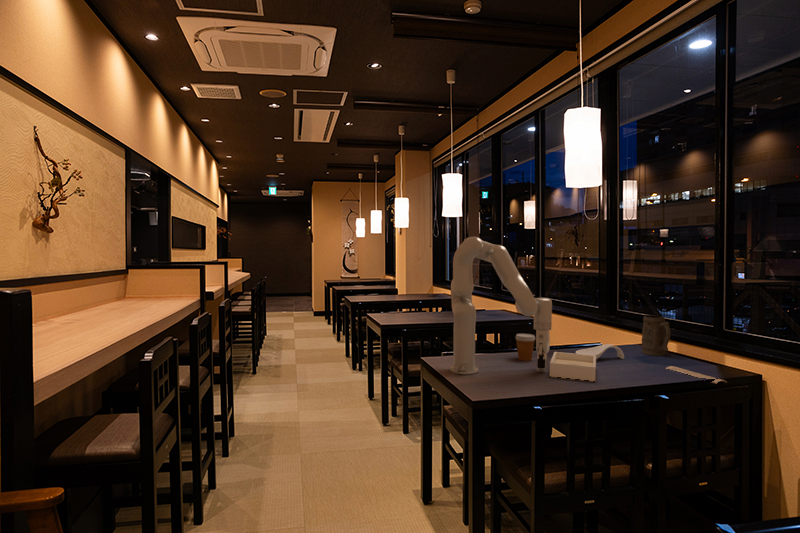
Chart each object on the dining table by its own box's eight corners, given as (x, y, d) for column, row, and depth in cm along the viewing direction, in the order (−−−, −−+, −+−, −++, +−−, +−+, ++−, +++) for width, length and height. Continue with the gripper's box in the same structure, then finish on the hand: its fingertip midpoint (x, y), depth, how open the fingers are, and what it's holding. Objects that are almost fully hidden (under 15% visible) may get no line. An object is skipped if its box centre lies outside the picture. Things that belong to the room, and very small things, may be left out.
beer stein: (635, 351, 242) (638, 314, 240) (649, 349, 247) (652, 313, 245) (662, 360, 229) (666, 321, 226) (676, 358, 233) (680, 319, 231)
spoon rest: (583, 363, 221) (583, 348, 220) (570, 357, 232) (571, 343, 232) (628, 361, 224) (629, 346, 224) (614, 355, 236) (614, 341, 235)
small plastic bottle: (545, 373, 202) (546, 350, 202) (536, 372, 204) (536, 349, 203) (546, 370, 206) (547, 348, 205) (537, 369, 208) (538, 347, 207)
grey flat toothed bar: (665, 370, 210) (665, 366, 209) (677, 369, 212) (677, 365, 212) (716, 385, 187) (716, 381, 187) (728, 383, 190) (728, 379, 190)
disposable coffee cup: (537, 362, 221) (537, 337, 221) (517, 361, 222) (517, 337, 221) (532, 357, 231) (532, 333, 230) (513, 357, 231) (513, 333, 231)
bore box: (595, 381, 190) (595, 367, 190) (549, 376, 197) (549, 362, 197) (595, 368, 210) (595, 355, 210) (554, 364, 217) (554, 351, 217)
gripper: (549, 329, 195) (548, 372, 196) (553, 323, 210) (552, 363, 211) (531, 328, 198) (530, 370, 199) (536, 322, 213) (535, 361, 214)
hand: (541, 366), depth 205 cm, fingers closed on small plastic bottle, 4 cm apart
